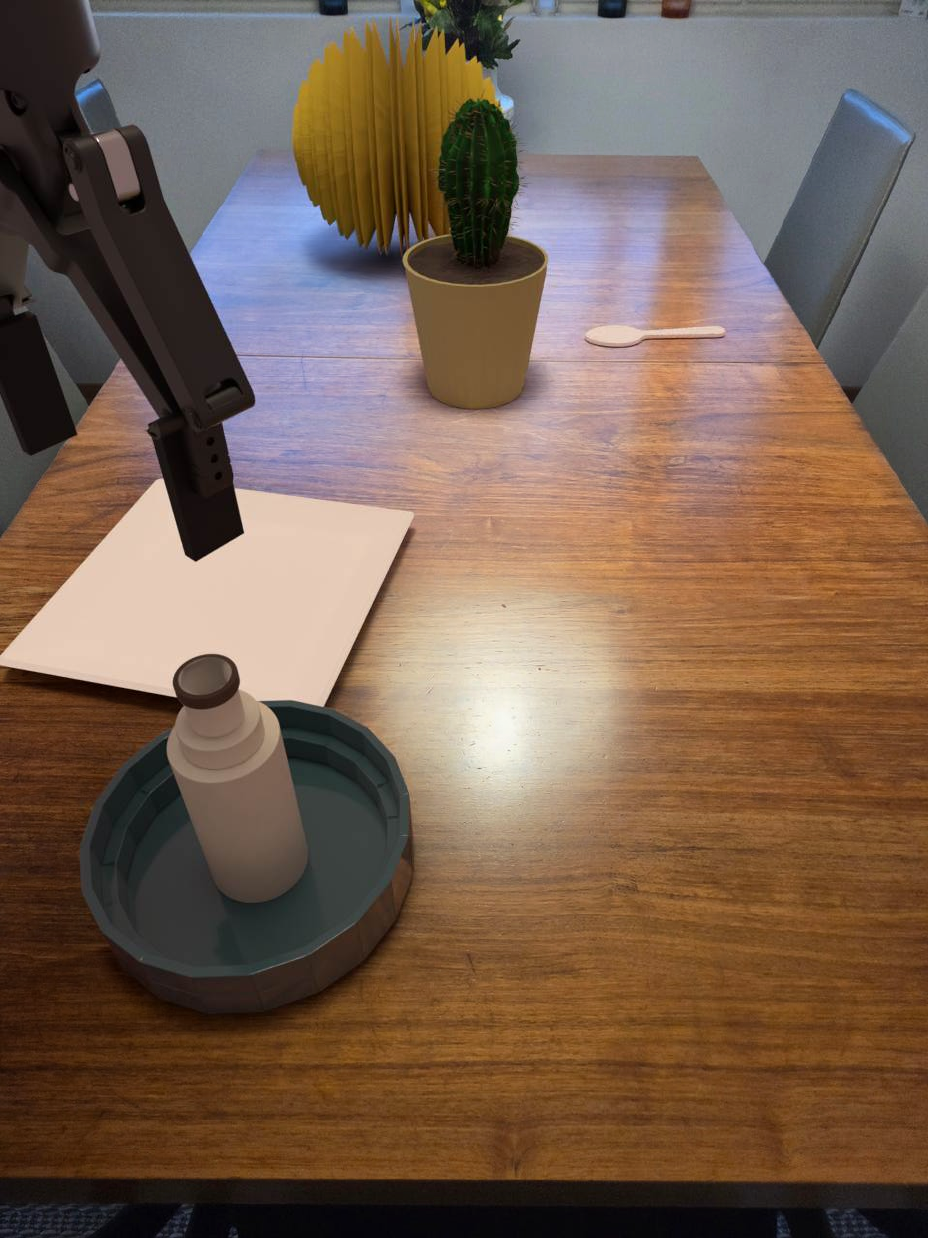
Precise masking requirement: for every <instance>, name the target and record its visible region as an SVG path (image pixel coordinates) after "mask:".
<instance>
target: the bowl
mask: <svg viewBox="0 0 928 1238" xmlns="http://www.w3.org/2000/svg"><path fill="white" fill-rule="evenodd" d="M259 702H261V703H263V704H264V705H266V706H267V707H268V708H269V709H271V710H272V712H273V713H274V714H275V716H276V717H277V719H278V722H279V725H280V730H281V734H282V738H283V743H284V747H285V751H286V756H287V760H288V764H289V769H290V773H291V777H292V782H293V786H294V790H295V795H296V799H297V803H298V808H299V812H300V816H301V821H302V825H303V829H304V834H305V838H306V843H307V847H308V861H307V865H306V868H305V870H304V873H303V874H302V876H301V878H300V879H299V880H298V882H297V883H296V884H295V885H294V886H293V887H292V888H291V889H289V890H288V891H287V892H285V893H284V894H282V895H281V896H279V897H277V898H274V899H272V900H269V901H265V902H260V903H243V902H239V901H236V900H233V899H231V898H229V897H227V896H226V895H225V894H223V893H222V892H221V891H220V890H219V888H218V887H217V885H216V884H215V881H214V879H213V876H212V874H211V871H210V868H209V866H208V863H207V861H206V858H205V855H204V853H203V850H202V847H201V845H200V842H199V839H198V837H197V834H196V831H195V829H194V826H193V823H192V821H191V818H190V815H189V813H188V810H187V807H186V805H185V802H184V799H183V797H182V794H181V792H180V789H179V786H178V784H177V781H176V778H175V776H174V773H173V770H172V768H171V765H170V762H169V760H168V756H167V742H168V738H169V735H170V733H171V731H172V729H173V728H174V726H173V727H171V728H169V729H167V730H166V731H163V732H161V733H159V734H158V735H156V736H155V737H154V738H152V740H150V741H149V742H148V743H147V744H146V745H144V746H143V747H142V748H141V749H139V750H138V751H137V752H135V754H133V755H132V756H131V757H130V758H129V759H127V760H126V761H125V762H124V763H122V765H121V766H120V768H119V769H118V770H117V771H116V773H115V774H114V775H113V777H112V778H111V780H110V781H109V783H108V784H107V785H106V786H105V788H104V789H103V790H102V792H101V793H100V795H99V797H98V798H97V799H96V800H95V802H94V803H93V806H92V809H91V812H90V814H89V818H88V821H87V824H86V827H85V830H84V832H83V835H82V839H81V842H80V844H79V869H80V870H79V871H80V892H81V894H82V897H83V899H84V901H85V902H86V904H87V907H88V908H89V911H90V912H91V914H92V916H93V918H94V920H95V922H96V924H97V926H98V928H99V930H100V933H101V934H102V935H103V938H104V939H105V941H106V942H107V945H108V946H109V947H110V949H111V951H112V953H113V955H114V957H115V958H116V960H117V961H118V964H119V965H120V967H121V968H122V969H123V970H124V971H125V972H126V973H127V974H128V975H129V976H131V977H132V978H133V979H134V980H136V981H137V982H138V983H139V984H140V985H142V986H143V987H144V988H146V989H147V990H148V991H149V992H151V994H153V995H154V996H155V997H156V998H158V999H160V1000H162V1001H166V1002H169V1003H172V1004H176V1005H178V1006H181V1007H185V1008H187V1009H192V1010H195V1011H198V1012H202V1013H205V1014H209V1015H210V1014H213V1015H214V1014H215V1015H216V1014H237V1013H238V1014H240V1013H243V1014H244V1013H263V1012H267V1011H270V1010H273V1009H276V1008H279V1007H282V1006H284V1005H287V1004H290V1003H293V1002H296V1001H299V1000H302V999H305V998H308V997H311V996H314V995H316V994H319V993H320V992H323V990H324V989H326V988H328V987H329V986H331V985H332V984H333V983H335V982H336V981H337V980H339V979H340V978H342V977H343V976H344V975H346V974H347V973H349V972H351V970H353V969H354V968H356V967H357V966H359V965H360V964H362V963H363V962H364V961H365V959H366V958H367V957H368V956H369V954H371V952H372V951H373V949H374V948H375V947H376V946H377V945H378V943H379V942H380V941H381V939H382V938H383V937H384V936H385V935H386V933H387V932H388V931H389V929H390V928H391V927H392V926H393V924H394V923H395V922H396V920H397V918H398V916H399V913H400V910H401V908H402V905H403V902H404V900H405V897H406V894H407V892H408V889H409V887H410V883H411V881H412V878H413V860H414V859H413V856H414V855H413V854H414V853H413V851H414V849H413V848H414V834H413V833H414V832H413V821H412V809H411V797H410V792H409V789H408V786H407V784H406V781H405V779H404V776H403V774H402V771H401V769H400V766H399V763H398V761H397V758H396V756H395V755H394V754H393V753H392V752H391V751H390V750H389V749H388V748H387V746H385V744H384V743H383V742H382V741H381V740H380V739H379V738H378V736H376V734H375V733H374V732H373V731H372V730H371V729H370V728H369V727H368V726H365V725H363V724H362V723H360V722H358V721H356V720H355V719H352V718H351V717H348V716H347V715H345V714H343V713H342V712H339V711H338V710H336V709H334V708H331V707H326V706H324V707H322V706H317V705H312V704H308V703H303V702H299V701H294V700H275V701H259Z"/></svg>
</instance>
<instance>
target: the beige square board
mask: <svg viewBox="0 0 928 1238" xmlns="http://www.w3.org/2000/svg"><path fill="white" fill-rule="evenodd" d="M234 489H235V493H236V498H237V502H238V507H239V511H240V516H241V521H242V525H243V530H244V534H242V535H241V536H239V537H237V538H235V539H234V540H232V541H230V542H229V543H227V544H225V545H224V546H222V547H220V548H219V549H217V550H215V551H214V552H212V553H210V554H209V555H207V556H205V557H204V558H202V559H200V560H198V561H197V562H195V561H193V560H192V559H190V558H189V557H187V556H185V553H184V550H183V546H182V542H181V539H180V535H179V532H178V528H177V525H176V521H175V518H174V514H173V511H172V507H171V504H170V500H169V497H168V493H167V490H166V486H165V483H164V479H163V477H162V478H161V477H160V478H159V479H156V480H154V481H153V483H152V484H151V485H150V486H149V487H148V489H146V491H145V492H144V493H143V494H142V495H141V496H140V498H138V500H137V501H136V502H135V503H134V504H133V505H132V507H130V509H129V510H128V511H127V512H126V513H125V514H124V515H123V516H122V518H121V519H120V520H119V521H118V522H117V523H116V524H115V526H114V527H113V528H112V529H111V530H110V531H109V532H108V533H107V534H106V535H105V537H104V538H103V539H102V540H101V541H100V543H99V544H98V545H97V546H96V547H95V548H94V549H93V550H92V551H91V553H89V555H88V556H87V557H86V558H85V560H84V561H82V563H81V564H80V565H79V566H78V568H76V570H74V572H72V574H71V575H70V576H69V577H68V579H67V580H66V581H65V582H64V583H63V584H62V585H61V586H60V588H59V589H57V591H56V592H55V593H54V594H53V595H52V596H51V598H50V599H49V600H48V601H47V602H46V603H45V604H44V606H43V607H41V609H40V610H39V611H38V612H37V613H36V615H35V616H34V617H33V618H32V619H31V620H30V621H29V622H28V623H27V624H26V626H25V627H24V628H23V629H22V630H21V631H20V632H19V634H18V635H16V636H15V638H14V639H13V641H11V643H9V645H8V646H7V647H6V648H5V650H4V651H3V652H2V653H1V654H0V666H1V667H7V668H11V669H12V668H13V669H18V670H25V671H30V672H33V673H34V672H36V673H40V674H46V675H52V676H57V677H61V678H62V677H63V678H68V679H72V680H73V679H74V680H79V681H85V682H91V683H95V684H101V685H106V686H113V687H117V688H124V689H128V690H135V691H139V692H140V691H141V692H145V693H151V694H157V695H162V696H166V697H173V698H177V696H176V693H175V690H174V688H173V677H174V674H175V672H176V671H177V669H178V668H179V667H180V666H181V665H182V664H183V663H185V662H186V661H188V660H190V659H192V658H194V657H196V656H200V655H204V654H219V655H223V656H226V657H228V658H230V659H231V660H232V661H233V662H234V663H235V665H236V666H237V669H238V673H239V677H240V685H239V688H238V689H239V690H242V691H244V692H247V693H248V694H250V695H251V696H252V697H253V698H254V699H255V700H256V701H275V700H294V701H299V702H303V703H308V704H312V705H317V706H322V707H325V704H326V703H327V701H328V698H329V696H330V694H331V692H332V689H333V688H334V687H335V683H336V681H337V679H338V677H339V675H340V673H341V671H342V669H343V667H344V665H345V663H346V660H347V658H348V656H349V654H350V652H351V650H352V648H353V645H354V643H355V641H356V639H357V637H358V635H359V634H360V631H361V629H362V626H363V624H364V623H365V620H366V618H367V616H368V614H369V612H370V609H371V608H372V605H373V603H374V601H375V599H376V597H377V595H378V594H379V590H380V589H381V587H382V585H383V582H384V580H385V579H386V576H387V575H388V572H389V570H390V568H391V566H392V563H393V561H394V559H395V557H396V555H397V553H398V551H399V549H400V547H401V544H402V542H403V540H404V538H405V536H406V534H407V532H408V530H409V528H410V525H411V523H412V522H413V519H414V517H415V513H414V512H413V511H409V510H404V509H403V510H402V509H396V508H395V509H394V508H387V507H379V506H371V505H364V504H359V503H358V504H356V503H350V502H343V501H334V500H328V499H327V500H326V499H320V498H311V497H304V496H297V495H290V494H282V493H275V492H268V491H259V490H251V489H246V488H245V489H244V488H239V487H238V488H237V487H234Z"/></svg>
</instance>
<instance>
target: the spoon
mask: <svg viewBox="0 0 928 1238" xmlns="http://www.w3.org/2000/svg"><path fill="white" fill-rule="evenodd" d="M725 335H726V329H725V327H723V326H721V325H720V326H719V325H707V326H693V327H692V326H688V327H678V328H666V329H665V328H664V329H663V328H660V329H659V328H657V329H649V330H648V329H646V330H644V329H639V328H637V327H633V326H630V325H624V324H610V325H609V324H608V325H602V326H598V327H593V328H591V329H588V330H587V331H586V332H585V334H584V339H585V340H586V341H587V342H589V343H591V344H593V345H598V346H604V347H616V348H618V347H621V348H622V347H630V346H634V345H637V344H640V343H641V342H642V341H644V340H645V339H687V338H690V339H692V338H694V339H695V338H697V339H698V338H721V337H724V336H725Z"/></svg>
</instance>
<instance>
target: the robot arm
mask: <svg viewBox="0 0 928 1238" xmlns="http://www.w3.org/2000/svg"><path fill="white" fill-rule="evenodd" d="M101 50H102V49H101V44H100V41H99V36H98V33H97V28H96V24H95V21H94V16H93V12H92V8H91V4H90V0H0V398H1V401H2V403H3V406H4V408H5V410H6V413H7V416H8V418H9V420H10V423H11V425H12V427H13V430H14V433H15V435H16V437H17V440H18V443H19V445H20V447H21V450H22V452H24V454H27V455H28V456H29V457H31V456H32V457H33V456H34V455H36V454H38V453H41V452H42V451H43V452H44V451H45V450H47V449H49V448H51V447H53V446H56V445H58V444H60V443H63V442H66V441H68V440H69V439H72V438H73V437H76V436H78V431H77V428H76V425H75V423H74V419H73V418H72V414H71V411H70V408H69V405H68V403H67V399H66V397H65V394H64V391H63V388H62V386H61V382H60V380H59V376H58V374H57V371H56V368H55V365H54V362H53V359H52V357H51V354H50V351H49V348H48V345H47V342H46V340H45V336H44V334H43V331H42V328H41V325H40V323H39V320H38V317H37V315H36V313H34V312H31V311H29V310H25V311H23V312H20V313H17V314H15V311H14V310H17V309H20V308H23V307H26V306H29V305H32V304H34V303H36V301H37V300H36V299H35V298H32V299H31V297H33V295H32V293H31V292H30V291H29V289H28V288H27V287H26V285H25V280H26V272H27V265H28V255H29V247H30V246H32V247H33V248H34V250H35V251H36V253H37V254H38V257H40V259H41V260H42V262H43V264H44V265H45V266H46V267H47V268H48V270H50V271H51V272H53V273H56V274H59V275H63V276H66V277H67V278H68V279H69V281H70V282H71V284H72V285H73V287H74V289H75V290H76V292H77V293H78V295H79V296H80V298H81V299H82V301H83V302H84V304H85V305H86V307H87V309H88V310H89V312H90V313H91V315H92V316H93V318H94V319H95V321H96V323H97V324H98V325H99V327H100V329H101V331H102V332H103V334H104V335H105V336H106V338H107V339H108V341H109V343H110V344H111V346H112V347H113V349H114V351H115V352H116V353H117V355H118V356H119V358H120V360H121V361H122V363H123V364H124V366H125V368H126V369H127V371H128V372H129V374H130V375H131V377H132V378H133V380H134V381H135V383H136V384H137V386H138V388H139V389H140V391H141V392H142V394H143V395H144V397H145V398H146V400H147V402H148V403H149V405H150V406H151V408H152V409H153V411H154V412H155V414H156V415H157V417H158V418H157V419H155V420H153V421H151V422H149V423H147V426H148V428H147V429H146V430H145V432H146V433H147V435H149V437H150V438H151V440H152V444H153V447H154V450H155V454H156V458H157V461H158V466H159V468H160V473H161V476H162V479H164V483H165V486H166V490H167V493H168V497H169V500H170V504H171V507H172V511H173V514H174V518H175V521H176V525H177V528H178V532H179V535H180V539H181V542H182V546H183V550H184V553H185V556H187V557H189V558H190V559H192V560H193V561H195V562H197V561H198V560H200V559H202V558H204V557H205V556H207V555H209V554H210V553H212V552H214V551H215V550H217V549H219V548H220V547H222V546H224V545H225V544H227V543H229V542H230V541H232V540H234V539H235V538H237V537H239V536H241V535H242V534H244V530H243V525H242V521H241V516H240V511H239V507H238V502H237V498H236V493H235V489H234V488H235V484H234V477H235V475H234V471H233V465H232V464H231V462H232V461H231V458H230V455H229V454H230V453H229V448H228V443H227V439H226V433H225V430H224V424H223V422H226V421H227V420H230V419H232V418H233V417H237V415H240V414H242V413H244V412H245V411H247V410H249V409H252V408H253V407H254V406H255V405H256V395H255V393H254V390H253V388H252V387H253V386H251V385H252V384H251V383H250V381H249V378H248V377H247V374H246V373H245V370H244V367H243V366H242V364H241V362H240V359H239V357H238V355H237V353H236V350H235V348H234V346H233V345H232V342H231V341H230V338H229V336H228V334H227V332H226V330H225V327H224V325H223V323H222V321H221V319H220V317H219V315H218V312H217V310H216V308H215V306H214V304H213V301H212V299H211V297H210V295H209V293H208V291H207V289H206V287H205V284H204V282H203V280H202V278H201V275H200V273H199V271H198V270H197V267H196V265H195V263H194V261H193V259H192V257H191V254H190V252H189V250H188V247H187V245H186V244H185V243H186V242H185V241H184V239H183V237H182V234H181V233H180V230H179V228H178V227H177V224H176V222H175V220H174V218H173V215H172V213H171V211H170V209H169V206H168V205H167V202H166V200H165V198H164V194H163V191H162V187H161V184H160V180H159V175H158V174H157V170H156V166H155V163H154V160H153V155H152V153H151V149H150V145H149V143H148V140H147V138H146V136H145V134H144V132H143V130H142V129H140V127H139V126H137V125H135V124H133V123H132V124H129V125H123V126H120V127H116V128H112V129H108V130H103V131H99V132H93V130H92V128H91V127H90V125H89V123H88V121H87V119H86V117H85V113H84V112H83V110H82V107H81V105H80V102H79V99H78V97H77V94H76V88H77V87H76V86H77V83H78V81H79V79H80V78H81V76H82V75H85V74H89V72H91V71H93V69H95V68H96V67H97V65H98V63H99V62H100V58H101V53H102V52H101Z"/></svg>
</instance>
